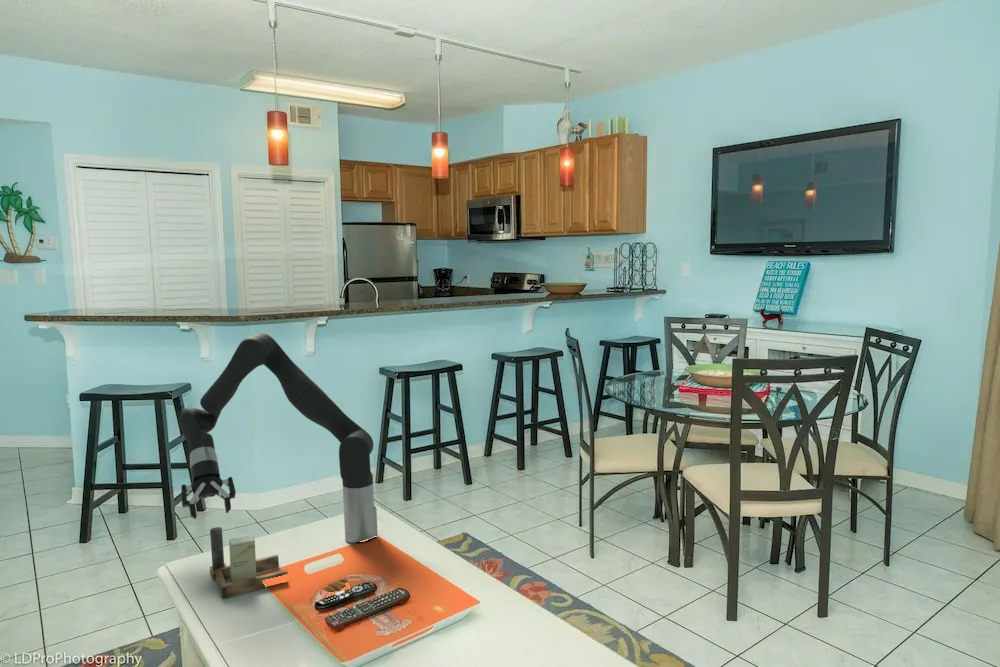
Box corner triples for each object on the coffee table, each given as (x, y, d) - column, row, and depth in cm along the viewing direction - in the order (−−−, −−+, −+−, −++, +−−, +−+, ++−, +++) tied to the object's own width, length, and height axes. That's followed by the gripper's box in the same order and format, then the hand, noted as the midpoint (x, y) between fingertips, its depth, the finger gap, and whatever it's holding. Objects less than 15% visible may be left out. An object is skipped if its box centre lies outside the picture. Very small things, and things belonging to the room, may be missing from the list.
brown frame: (273, 557, 188) (271, 515, 187) (288, 582, 173) (285, 537, 171) (210, 571, 180) (207, 528, 179) (219, 599, 164) (216, 552, 163)
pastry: (325, 610, 158) (324, 595, 158) (308, 602, 163) (307, 588, 162) (355, 595, 166) (355, 581, 165) (339, 588, 170) (338, 574, 169)
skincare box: (232, 590, 169) (229, 545, 168) (230, 583, 173) (228, 539, 172) (257, 584, 172) (255, 540, 171) (255, 577, 176) (253, 534, 175)
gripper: (178, 463, 188) (184, 513, 179) (230, 455, 195) (239, 503, 186) (177, 476, 193) (183, 526, 184) (229, 468, 200) (237, 515, 191)
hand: (211, 514), depth 185 cm, fingers open, 8 cm apart
